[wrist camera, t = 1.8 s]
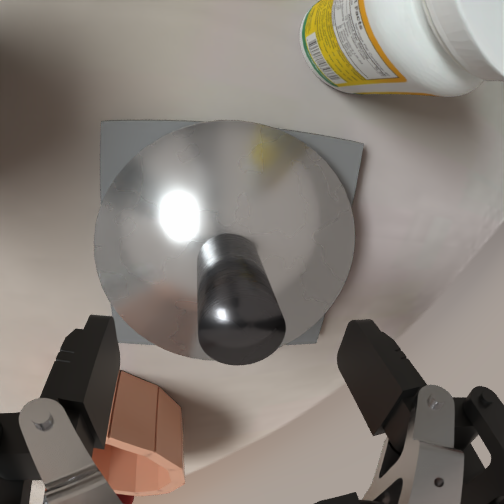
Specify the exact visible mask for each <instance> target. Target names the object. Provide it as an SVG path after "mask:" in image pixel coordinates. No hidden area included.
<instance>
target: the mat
mask: <svg viewBox="0 0 504 504" xmlns="http://www.w3.org/2000/svg"><path fill="white" fill-rule="evenodd" d="M197 123H201V121H178V120H111V121H101V141H100V191H101V204H102V202H103V200H104V197H105V195H106V193H107V191H108V189H109V187H110V186H111V184H112V183H113V181H114V179H115V178H116V176H117V175H118V174H119V173H120V171H121V170H122V169H123V168H124V167H125V166H126V164H127V163H128V162H129V161H130V160H131V159H132V158H133V157H135V156H136V155H137V154H138V153H139V152H140V151H142V150H143V149H144V148H145V147H147V146H148V145H150V144H151V143H153V142H155V141H156V140H158V139H159V138H161V137H163V136H164V135H166V134H169V133H171V132H173V131H175V130H178V129H180V128H182V127H186V126H189V125H193V124H197ZM275 129H277V128H275ZM278 130H281V131H283V132H285V133H287V134H289V135H291V136H293V137H295V138H297V139H299V140H300V141H302V142H303V143H305V144H306V145H307V146H309V147H310V148H312V149H313V150H314V151H315V152H316V153H317V154H318V155H319V156H321V157H322V158H323V159H324V160H325V161H326V162H327V164H328V165H329V166H330V167H331V169H332V170H333V171H334V173H335V174H336V175H337V177H338V179H339V180H340V182H341V184H342V186H343V188H344V189H345V192H346V194H347V197H348V199H349V202H350V205H351V209H352V204H353V199H354V194H355V189H356V184H357V179H358V174H359V168H360V163H361V157H362V151H363V146H364V144H363V143H359V142H355V141H350V140H345V139H340V138H335V137H329V136H324V135H318V134H312V133H305V132H299V131H292V130H285V129H278ZM111 309H112V315H113V318H114V322H115V328H116V334H117V340H118V343H130V344H146V345H155V344H153V343H151V342H150V341H148V340H147V339H145V338H144V337H142V336H141V335H139V334H138V333H137V332H136V331H135V330H133V329H132V328H131V327H130V326H129V325H128V324H127V323H126V322H125V321H124V320H123V319H122V318H121V317H120V315H119V314H118V313H117V312H116V310H115V309H114V307H113V306H112V304H111ZM324 316H325V314H324V315H323V316H322V317H321V318H320V319H319V320H318V321H317V322H316V323H315V324H314V325H313V326H312V327H311V328H310V329H308V330H307V331H306V332H305V333H303V334H302V335H300V336H299V337H297V338H296V339H294V340H293V341H291V342H289V343H287V344H285V345H296V344H313V343H316V342H317V339H318V336H319V333H320V329H321V326H322V323H323V319H324Z"/></svg>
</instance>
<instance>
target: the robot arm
mask: <svg viewBox="0 0 504 504" xmlns="http://www.w3.org/2000/svg"><path fill="white" fill-rule="evenodd" d="M337 364H338V368H339V370H340V372H341V374H342V376H343V378H344V380H345V382H346V384H347V386H348V388H349V389H350V391H351V393H352V395H353V397H354V399H355V401H356V403H357V405H358V407H359V409H360V411H361V413H362V415H363V417H364V419H365V421H366V423H367V425H368V427H369V428H370V431H371V433H372V435H373V436H375V435H379V434H382V433H386V435H387V438H386V440H385V441H384V444H383V448H382V451H381V455H380V458H379V462H378V465H377V469H376V472H375V476H374V478H373V481H372V484H371V486H370V488H369V489H368V491H367V492H366V494H365V495H364V497H363V499H362V500H359V499H358V496H357V494H356V492H354V493H350V494H347V495H343V496H339V497H335V498H331V499H327V500H322V501H319V502H317V503H315V504H504V405H503V404H502V402H501V401H500V400H499V398H498V397H497V395H496V394H495V393H494V392H493V391H492V390H490V389H488V388H486V387H482V386H478V387H475V388H474V389H473V390H472V391H471V392H470V394H469V395H468V397H467V398H455V397H454V398H453V397H452V396H451V395H450V394H449V392H448V391H446V390H445V389H443V388H442V387H439V386H436V385H427V384H426V383H425V381H424V380H423V379H422V377H421V376H420V374H419V373H418V372H417V370H416V369H415V368H414V366H413V365H412V364H411V362H410V361H409V360H408V359H406V356H405V354H404V353H403V352H402V351H401V349H400V348H399V346H398V345H397V344H396V342H395V341H394V340H393V339H392V338H391V337H389V336H388V335H386V334H385V333H384V332H381V331H380V330H379V328H378V327H377V326H376V324H375V323H374V322H373V321H372V320H370V319H366V320H352V321H350V322H349V324H348V326H347V329H346V331H345V334H344V337H343V340H342V343H341V345H340V348H339V351H338V355H337ZM119 369H120V352H119V346H118V340H117V334H116V328H115V322H114V318H113V317H112V316H100V315H90V316H89V318H88V321H87V323H86V325H85V327H84V329H75V330H74V331H73V332H71V333H70V334H69V335H68V336H67V337H66V338H65V340H64V342H63V344H62V346H61V349H60V352H59V353H58V355H57V357H56V361H55V362H54V364H53V367H52V369H51V371H50V374H49V376H48V379H47V381H46V384H45V386H44V389H43V391H42V394H41V396H40V398H38V399H34V400H32V401H30V402H28V403H27V404H26V405H25V406H24V407H23V408H22V410H21V412H19V413H0V504H29V499H30V492H31V485H32V480H43V483H44V485H45V487H46V491H45V496H46V499H47V501H48V503H49V504H123V503H122V502H121V500H120V499H119V498H118V496H117V495H116V493H115V492H114V491H113V489H112V488H111V487H110V485H109V484H108V482H107V481H106V479H105V478H104V476H103V475H102V473H101V472H100V471H99V469H98V468H97V466H96V465H95V463H94V462H93V460H92V454H93V448H97V449H105V442H106V436H107V430H108V424H109V418H110V413H111V408H112V402H113V397H114V392H115V388H116V383H117V378H118V374H119ZM478 434H479V436H480V437H481V439H482V440H483V442H484V444H485V445H486V447H487V449H488V450H489V452H490V454H491V463H490V465H489V466H488V467H487V468H486V469H485V468H484V466H483V464H482V463H481V461H480V459H479V457H478V455H477V454H476V452H475V450H474V448H473V447H472V445H471V442H472V441H473V440H474V439H475V438H476V436H477V435H478Z"/></svg>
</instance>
